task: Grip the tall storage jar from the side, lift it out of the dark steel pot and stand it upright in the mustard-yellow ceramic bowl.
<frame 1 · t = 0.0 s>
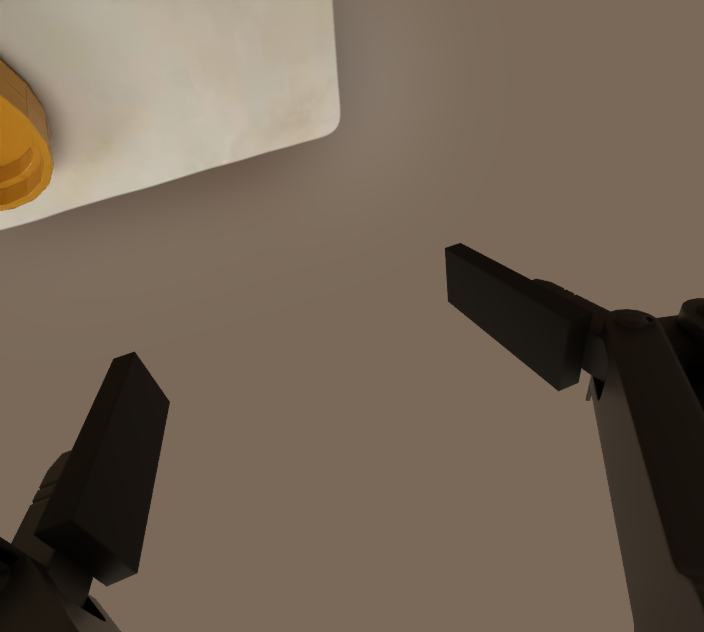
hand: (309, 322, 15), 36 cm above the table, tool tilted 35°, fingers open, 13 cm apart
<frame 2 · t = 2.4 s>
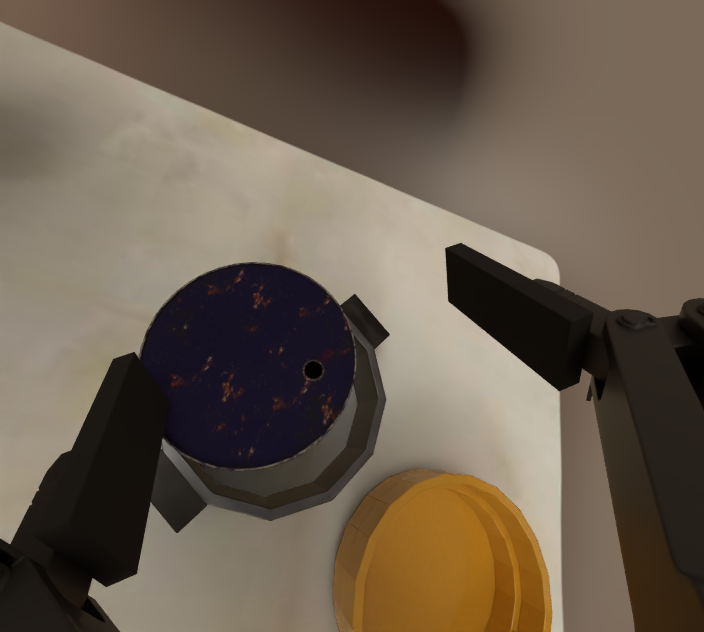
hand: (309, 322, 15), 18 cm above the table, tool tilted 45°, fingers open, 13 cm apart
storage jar: (274, 397, 30), point 1 cm above the table, touching gripper
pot: (274, 398, 31), on the table
bowl: (423, 571, 30), on the table
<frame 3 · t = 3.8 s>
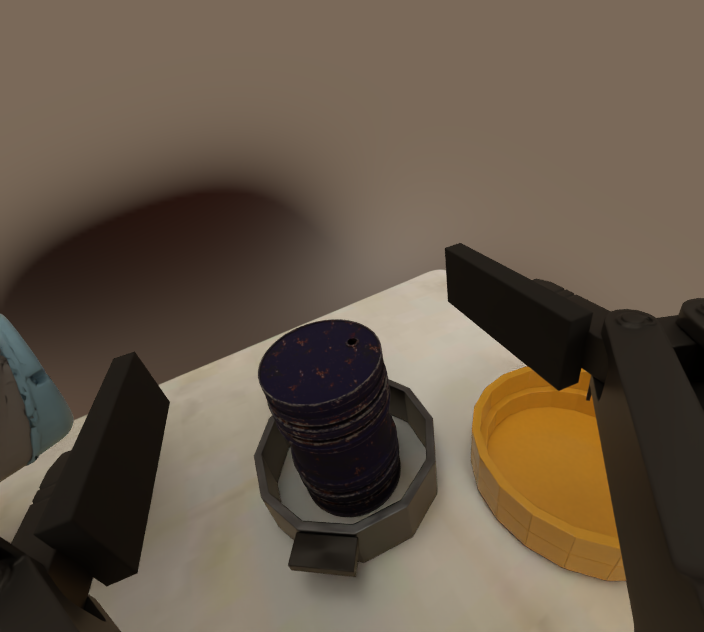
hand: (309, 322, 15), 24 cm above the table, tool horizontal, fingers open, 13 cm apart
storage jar: (352, 468, 35), resting in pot
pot: (352, 467, 35), on the table
bowl: (569, 473, 31), on the table
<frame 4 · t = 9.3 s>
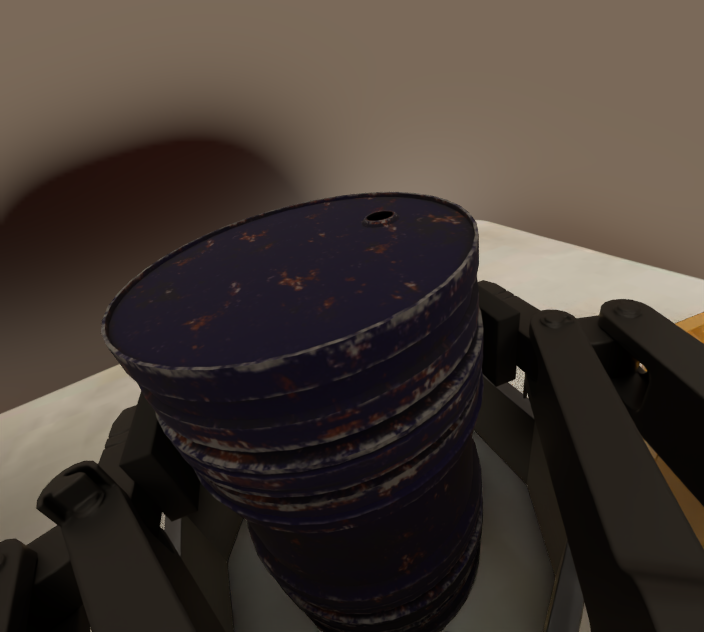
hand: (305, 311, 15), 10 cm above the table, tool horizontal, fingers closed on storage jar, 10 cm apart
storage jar: (378, 525, 18), resting in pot, touching gripper
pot: (377, 523, 18), on the table
when the fingers open (11 cm above the table, at t = 17.7 s): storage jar stays where it is, resting on bowl.
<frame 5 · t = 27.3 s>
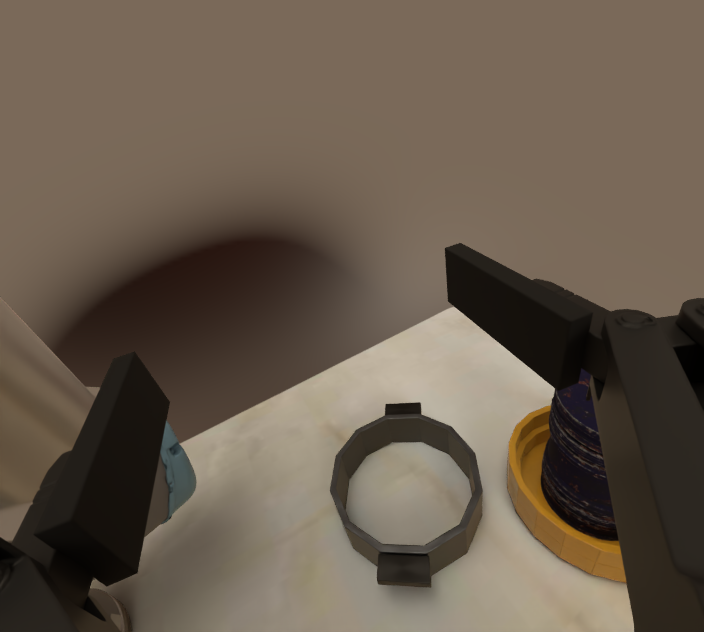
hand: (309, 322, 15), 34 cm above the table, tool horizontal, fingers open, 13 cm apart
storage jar: (590, 493, 38), resting on bowl
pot: (407, 495, 42), on the table
bowl: (588, 495, 38), on the table
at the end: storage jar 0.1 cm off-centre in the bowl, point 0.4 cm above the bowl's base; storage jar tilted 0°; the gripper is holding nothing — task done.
